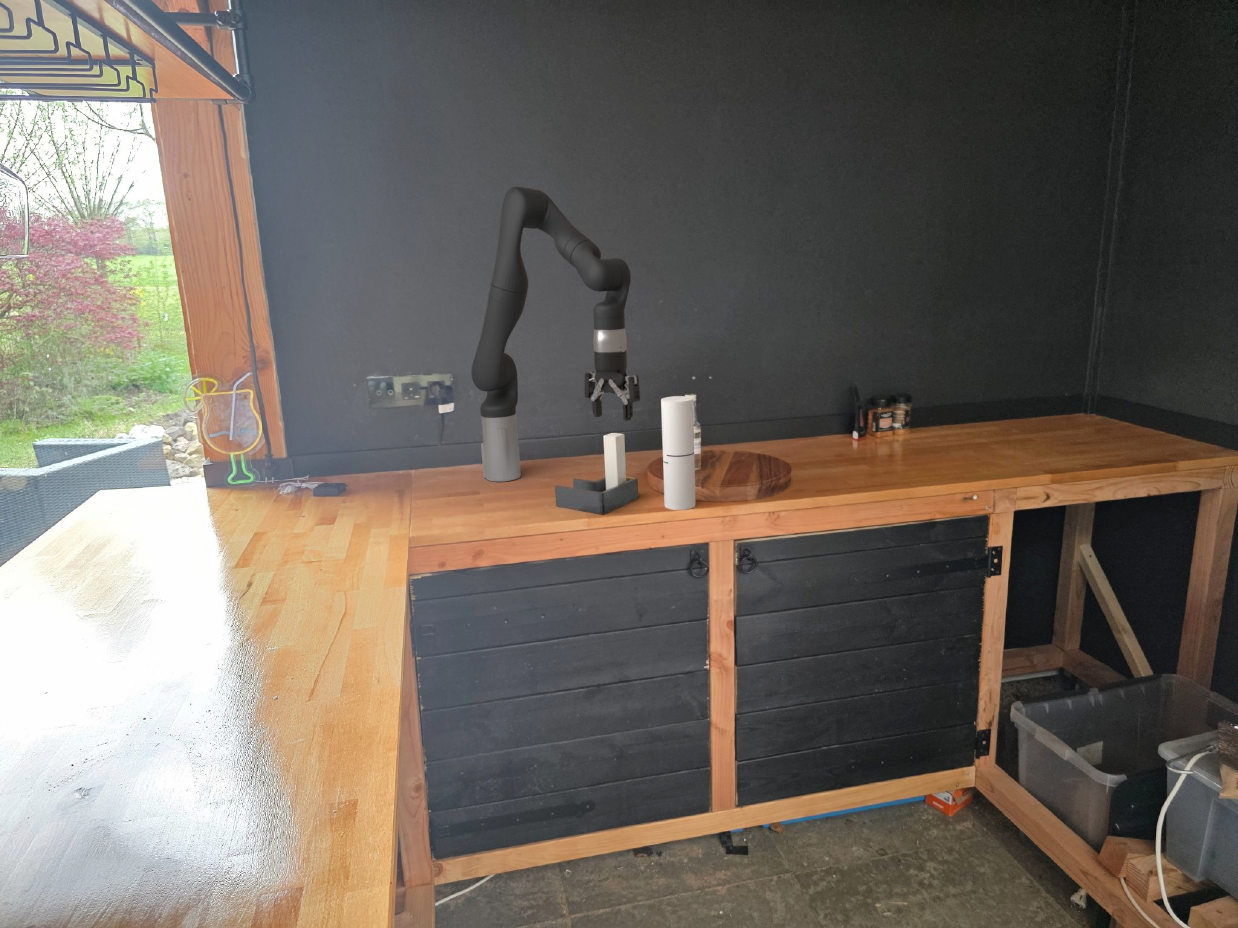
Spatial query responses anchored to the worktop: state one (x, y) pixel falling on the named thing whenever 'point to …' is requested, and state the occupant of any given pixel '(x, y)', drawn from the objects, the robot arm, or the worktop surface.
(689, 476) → the cylindrical container
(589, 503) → the dark open tray
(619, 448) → the peg
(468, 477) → the worktop surface
